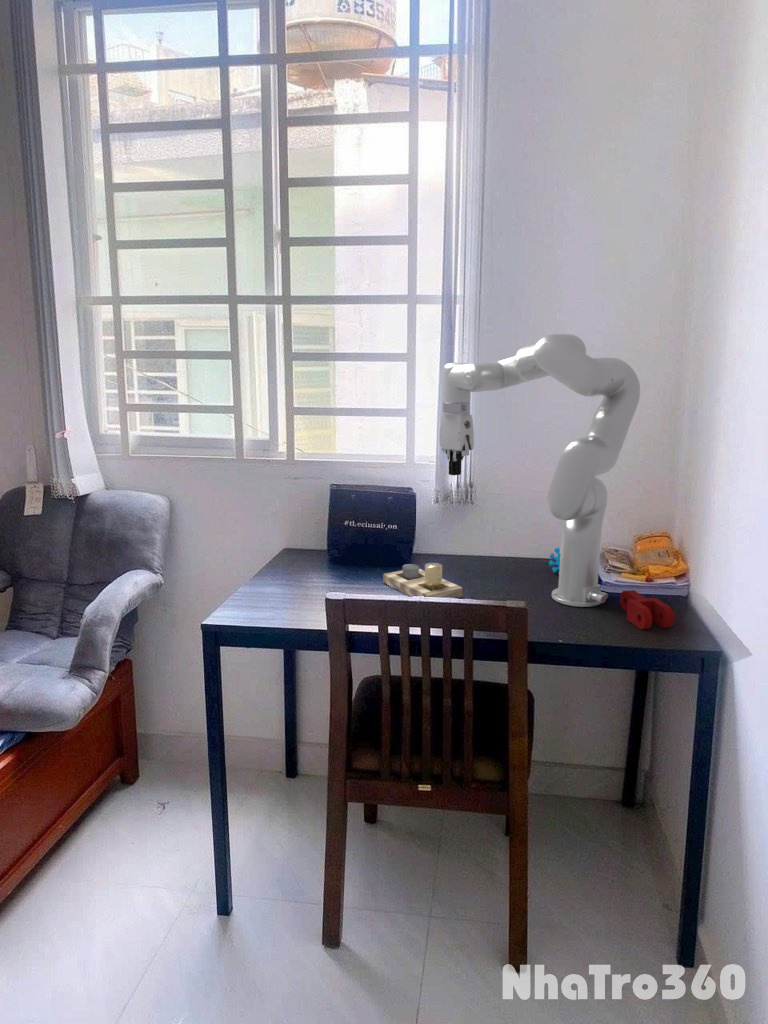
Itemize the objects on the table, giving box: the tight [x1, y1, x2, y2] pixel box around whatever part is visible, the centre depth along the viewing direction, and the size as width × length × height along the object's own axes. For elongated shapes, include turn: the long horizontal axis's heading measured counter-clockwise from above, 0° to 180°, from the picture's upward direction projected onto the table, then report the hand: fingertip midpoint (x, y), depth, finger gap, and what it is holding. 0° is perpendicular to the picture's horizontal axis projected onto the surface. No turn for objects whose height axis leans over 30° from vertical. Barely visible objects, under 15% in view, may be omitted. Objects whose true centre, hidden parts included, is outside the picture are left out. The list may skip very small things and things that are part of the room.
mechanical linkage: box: [619, 589, 675, 630], centre depth 173 cm, size 16×7×5 cm, turn 10°
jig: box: [382, 563, 463, 599], centre depth 192 cm, size 20×11×5 cm, turn 33°
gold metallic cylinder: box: [424, 562, 443, 591], centre depth 188 cm, size 4×4×8 cm
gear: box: [548, 547, 561, 573], centre depth 207 cm, size 11×6×10 cm
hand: (454, 474), depth 205 cm, fingers closed
